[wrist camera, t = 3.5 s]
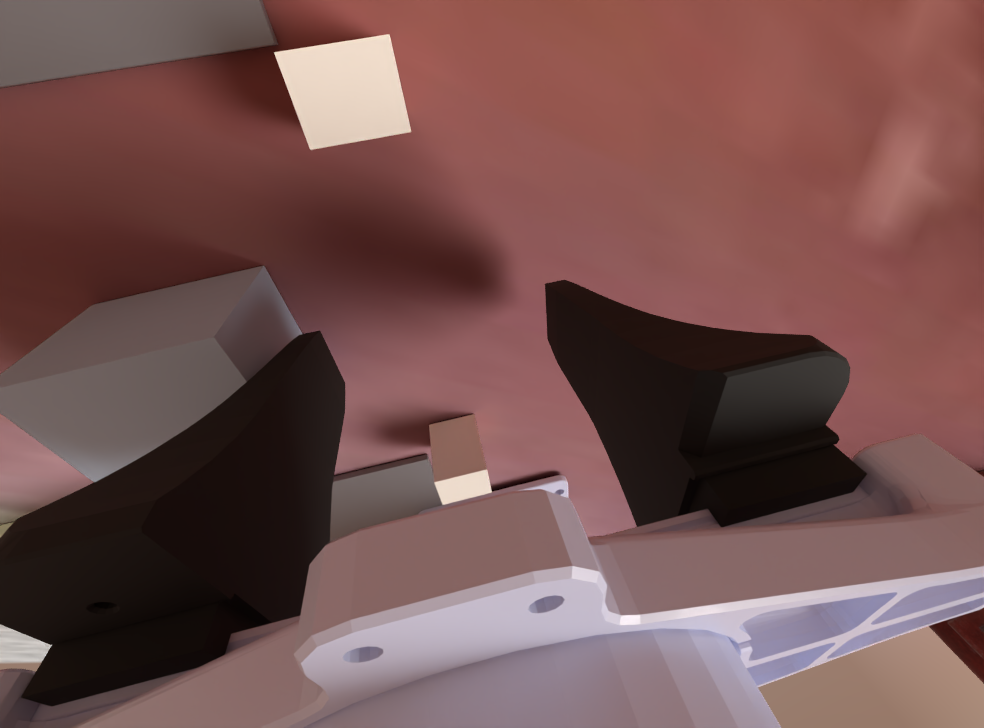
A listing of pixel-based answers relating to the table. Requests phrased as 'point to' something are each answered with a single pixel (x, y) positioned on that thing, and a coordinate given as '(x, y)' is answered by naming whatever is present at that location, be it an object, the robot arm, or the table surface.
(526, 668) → the robot arm
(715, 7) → the table surface
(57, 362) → the block
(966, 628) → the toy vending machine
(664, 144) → the table surface
